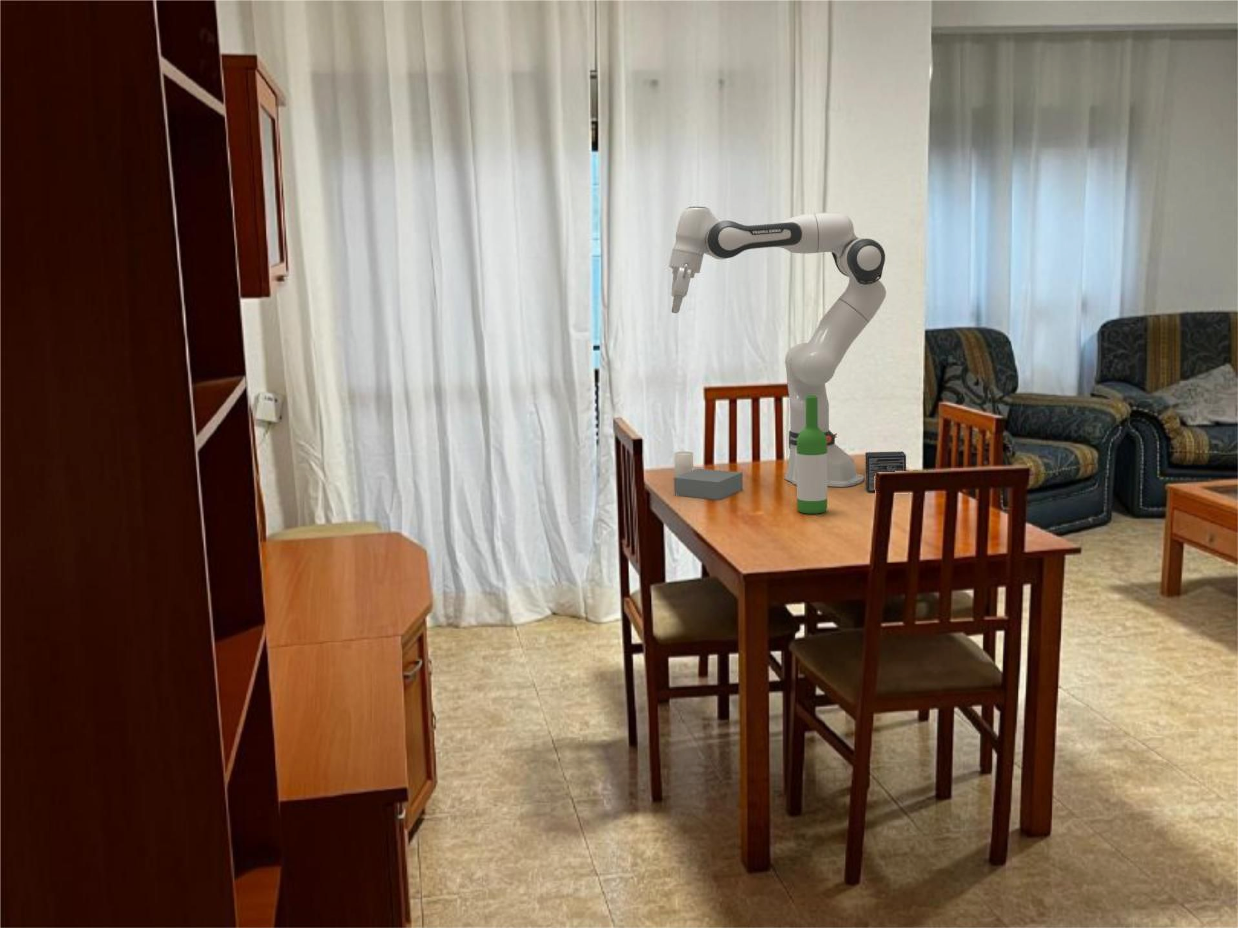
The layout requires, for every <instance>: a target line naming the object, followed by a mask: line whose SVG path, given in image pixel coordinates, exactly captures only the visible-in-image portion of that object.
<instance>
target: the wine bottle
mask: <svg viewBox="0 0 1238 928" xmlns="http://www.w3.org/2000/svg"><path fill="white" fill-rule="evenodd" d="M796 508H797V511H799V512H800V513H802V514H808V515H816V514H822V513H825V512H826V511H827V510H828V486H827V439H826V436H825V434H824V432H823V431H822V430H821V429H819V428H818V399H817V396H807V397H806V427H805V428H804V429H803V430H802V431H801V432H800V434H799V435H798V438H797V485H796Z"/></svg>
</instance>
